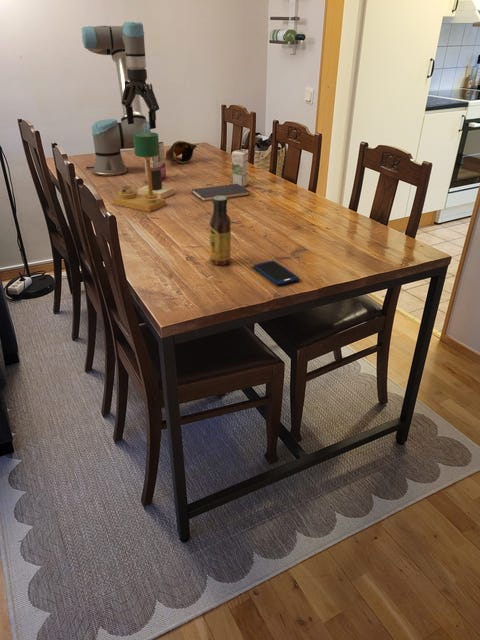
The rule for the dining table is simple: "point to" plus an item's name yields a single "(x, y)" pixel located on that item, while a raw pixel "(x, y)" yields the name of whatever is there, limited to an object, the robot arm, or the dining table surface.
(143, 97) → the robot arm
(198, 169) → the dining table surface
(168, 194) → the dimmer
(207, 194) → the notebook
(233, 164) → the syrup box
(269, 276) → the cell phone
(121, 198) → the lamp base
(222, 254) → the sauce bottle
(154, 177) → the dark brown cylinder
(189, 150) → the pot
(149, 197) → the lamp
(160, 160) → the candy bar box
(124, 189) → the lamp switch
